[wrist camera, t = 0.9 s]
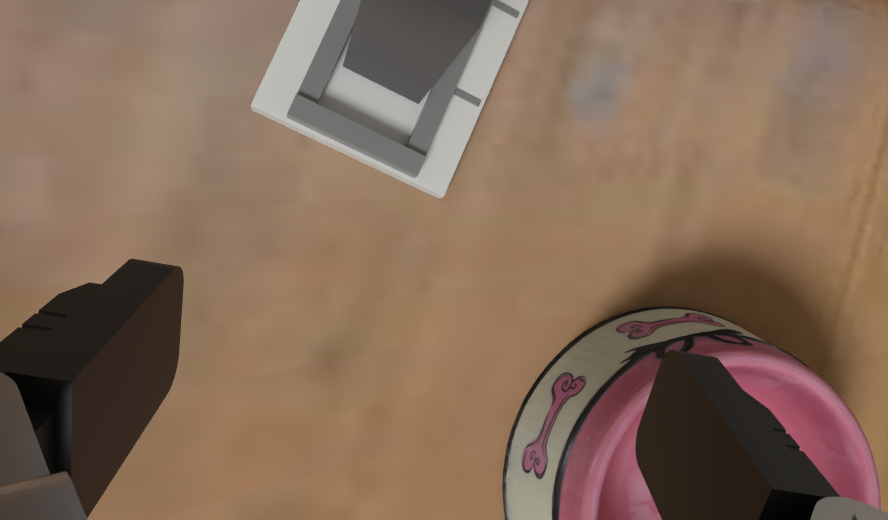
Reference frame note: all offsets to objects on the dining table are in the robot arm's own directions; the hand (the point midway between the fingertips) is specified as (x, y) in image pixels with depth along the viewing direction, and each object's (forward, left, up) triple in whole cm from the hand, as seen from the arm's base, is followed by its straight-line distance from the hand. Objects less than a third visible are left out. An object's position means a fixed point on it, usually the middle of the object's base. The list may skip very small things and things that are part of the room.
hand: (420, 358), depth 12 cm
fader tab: (-12, +3, -22) cm, 25 cm away
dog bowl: (+10, +18, -24) cm, 31 cm away
